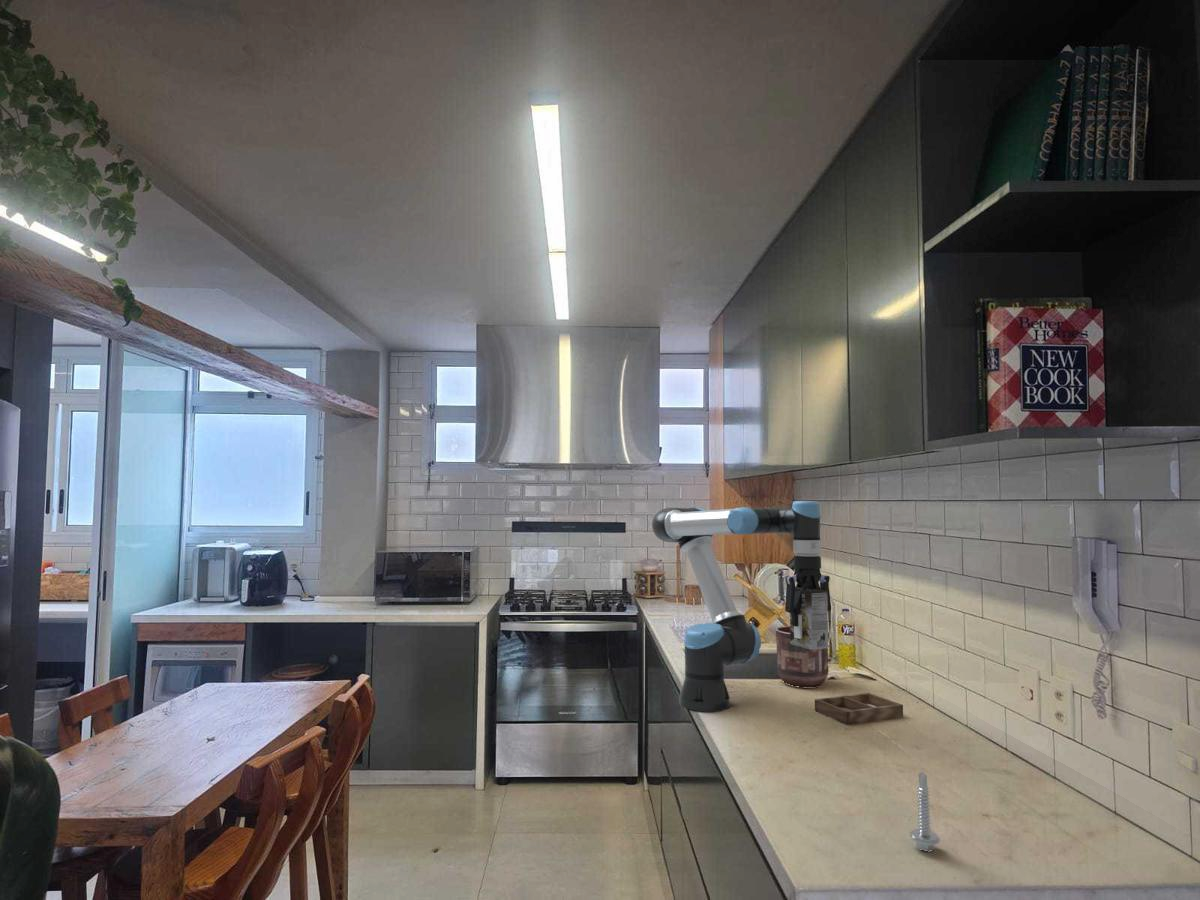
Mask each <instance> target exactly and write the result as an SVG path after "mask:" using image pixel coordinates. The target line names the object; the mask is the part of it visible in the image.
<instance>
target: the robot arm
mask: <svg viewBox="0 0 1200 900" xmlns="http://www.w3.org/2000/svg"><path fill="white" fill-rule="evenodd" d="M791 505H792V506H791V507H745V506H743V507H736V508H724V509H711V510H710V509H709V510H706V509H703V508H697V507H666V508H662V509H660V510H658V511H657V512H656V513H655V515H654V516H653V519H652V522H651V525H652V526H651V527H652V531H653V534H654V535H655V536H656V538H657V539H659V540H660V541H663V542H665V543H677V544H678V546H679V549H680V552H682V553H684V554H686V556H687V558H688V560H689V563H690V565H691V568H692V570H693V571H692V572H693V574H694V576H695V578H696V581H697V583H698V587H699V589H700V591H701V592H700V593H701V595H702V598H703V599H704V603H705V605H706V608H707V612H708V613H709V615H710V618H711V622H705V623H697V624H694V625H691V626H689V627H688V628H686V630H685V634H684V635H685V636H684V640H683V641H684V643H683V644H684V681H683V683H682V686H681V690H680V693H679V699H678V700H679V701H678V703H679V706H681V707H683V708H685V709H687V710H690V711H697V712H710V713H711V712H721V711H725V710H727V708H728V707H729V706H730V707H731V699H730V698H731V697H730V695H729V691H728V689H727V686H726V685H727V684H726V683H725V680H724V679H725V676H724V675H725V671H724V670H725V667H729V666H733V665H737V664H745V663H748V662H750V661H753V660H754V659H756V658H757V657H758V654H759V653H760V649H761V647H762V646H761V645H762V639H761V638H762V637H761V634H760V631H759V630H758V629H757V627H756V625H753V624H752V623H749V622H747V620H746V617H745V615H744V614H743V613H741V612H739V611H738V610H737V607H736V605H735V602H734V600H733V596H732V595H731V592H730V590H729V587H728V585H727V583H726V579H725V577H724V575H723V573H722V569H721V568H720V565H719V562H718V560H717V558H716V555H715V552H714V549H713V547H712V543H713V541H714V538H713V536H714V535H715V536H717V535H719V536H723V535H749V534H750V535H754V534H755V535H756V534H792V544H793V545H792V548H793V549H792V550H793V551H792V552H793V554H794V556H793V568H794V573H793V575H791V576H789V575H788V576H785V578H784V580H785V582H786V583H785V584H786V587H785V588H786V590H785V606H784V612H786V613H789V614H790V613H791V615H792V626H794V637H795V638H798V639H802V615H799V612H800V609H801V605H802V590H807V588H812V589H821V590H827V599H828V612H829V611H831V610H832V603H831V592H830V580H831V577H830V576H829V575H824V574H822V572H821V570H822V557H821V556H820V554H821V551H822V550H821V541H822V540H821V513H820V511H821V510H820V504H819V502H818V501H816V500H794V501H793V502H792V504H791ZM795 587H796V589H800V590H799V591H796V592H795ZM730 707H729V708H730ZM729 708H728V709H729Z"/></svg>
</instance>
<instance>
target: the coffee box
mask: <svg viewBox="0 0 1200 900" xmlns="http://www.w3.org/2000/svg"><path fill="white" fill-rule="evenodd" d="M799 590H800V589H796V586H795V592H796V591H799ZM828 613H829V611H828V599H827V590H821V589H812V588H807V590H802V605H801V609H800V612H799V615H802V639H798V638H795V637H794V626H792V615H791V613H789V621H790V623H789V624H790V625H789V626H790V638H791V644H793V645H796V646H800V647H803V648H807V649H810V650H815V649H826V648H828V649H829V641H828V632H829V627H828V625H829V624H828V623H829V622H828V620H829V617H828Z"/></svg>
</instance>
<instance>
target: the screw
mask: <svg viewBox="0 0 1200 900" xmlns="http://www.w3.org/2000/svg"><path fill="white" fill-rule="evenodd" d="M927 777H928V776H927V774H926V773H924V772H923V771H922V772H919V773H918V787H917V789H918V790H917V793H918V794H917V797H918V798H917V799H918V801H917V803H918V805H917V810H918V821H919V822H918V824H919V825H918V827H919V828H914V829H913V830H910V832H909V837H910V839H911V840H913V841H914V842H915V843H916V845H917V846H918V847H919V849H922V850H927V851H930V850H933V849H934V850H935V848H934V847H935V845H938V844H940V843H941V837H940V836H939V835H938V834H937V833H935V832H933V831H932V830H931V829H930V828H931V822H930V821H931V818H930V817H931V816H930V813H931V812H930V809H931V808H930V806H931V805H930V797H929V796H930V794H929V793H930V791H929V786H928V778H927ZM916 845H915V846H916ZM917 846H916V847H917ZM918 847H917V848H918ZM919 849H918V850H919Z"/></svg>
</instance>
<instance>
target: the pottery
mask: <svg viewBox="0 0 1200 900" xmlns="http://www.w3.org/2000/svg"><path fill="white" fill-rule="evenodd" d="M775 638H776V639H775V641H776V672H777V674H778V676H779V678H780V680H781V681H782V682H783V681H784V682H783V683H784V684H785V683H787V684H790V685H793V686H799V687H816V688H818V687H817V686H819V687H820V686H821V685H822V684H823V683H825V681H826V680H827V677H828V675H829V647H828V648H826V649H815V650H810V649H807V648H803V647H800V646H796V645H793V644H791V638H790V625H787V626H785V625H784V626H779V627H777V628H775ZM829 641H830V632H829V631H828V642H829Z"/></svg>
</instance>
